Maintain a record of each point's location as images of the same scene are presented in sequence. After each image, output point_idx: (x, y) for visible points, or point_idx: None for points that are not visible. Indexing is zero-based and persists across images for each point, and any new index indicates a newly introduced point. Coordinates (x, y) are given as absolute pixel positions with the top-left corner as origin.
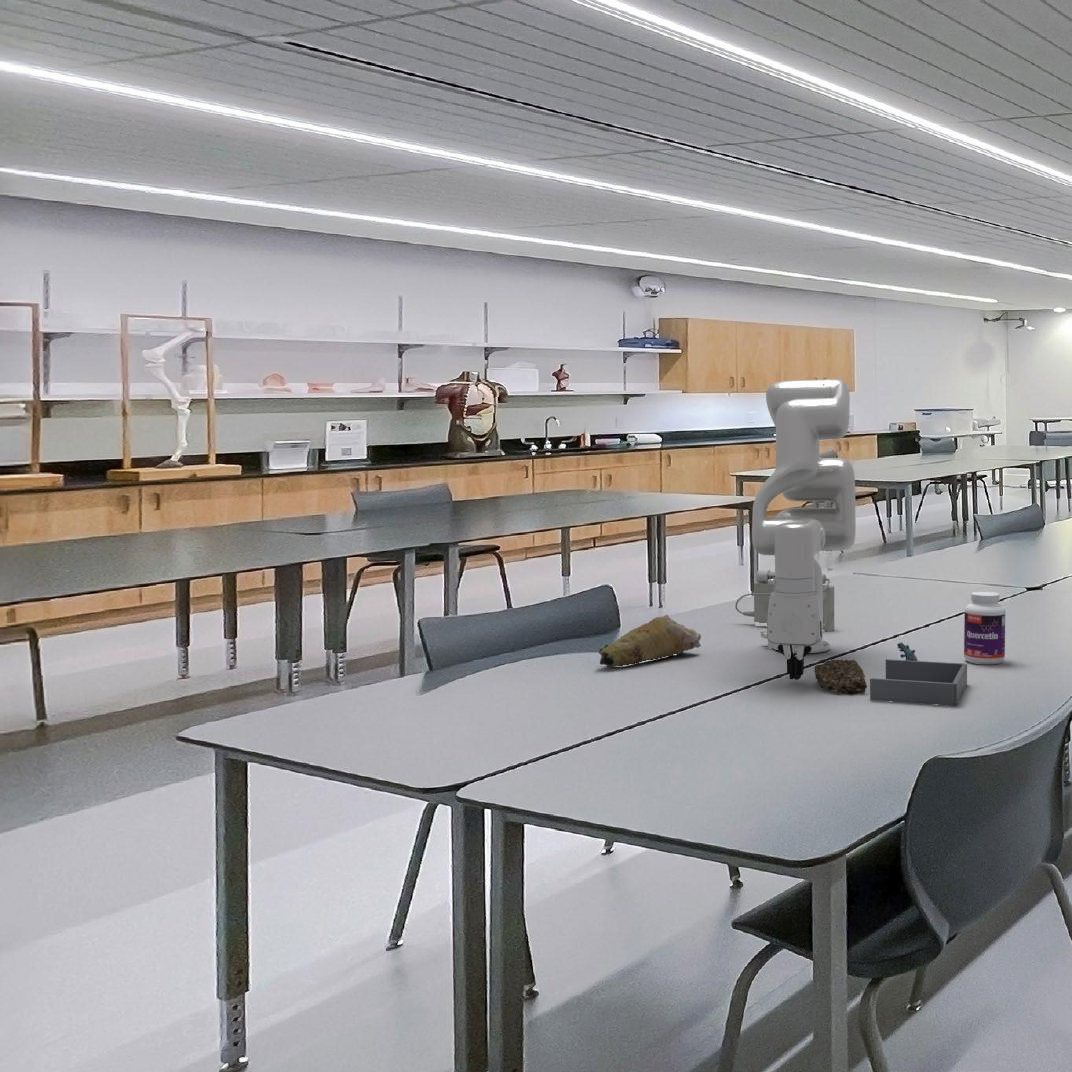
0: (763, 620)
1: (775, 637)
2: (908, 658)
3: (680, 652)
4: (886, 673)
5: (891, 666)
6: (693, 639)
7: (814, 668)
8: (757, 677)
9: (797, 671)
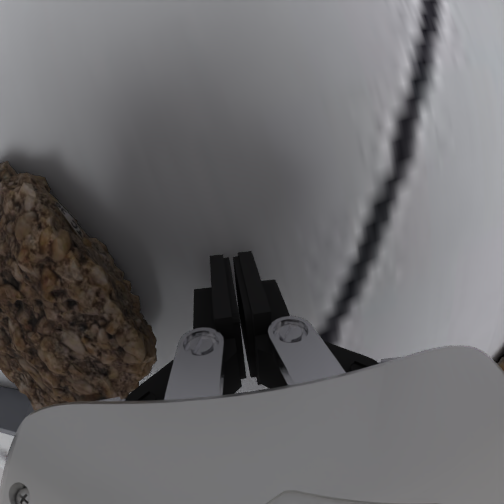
0: None
1: (457, 387)
2: None
3: (499, 365)
4: (28, 404)
5: (14, 417)
6: None
7: (135, 329)
8: (386, 303)
9: (211, 278)
